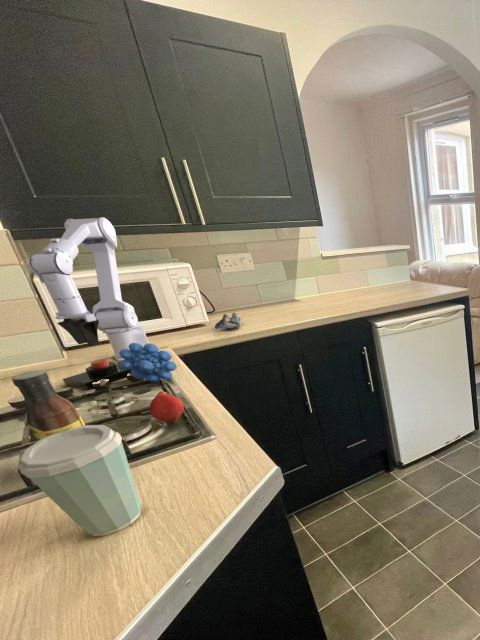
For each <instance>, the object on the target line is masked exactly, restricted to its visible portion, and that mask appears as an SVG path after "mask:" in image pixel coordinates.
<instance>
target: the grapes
mask: <svg viewBox="0 0 480 640" xmlns="http://www.w3.org/2000/svg"><path fill="white" fill-rule="evenodd" d="M129 349H130V350H129ZM129 349H122V350H120V352H119V354H120V356H121V357H122V358H123V359H124V360H121V361H119V362H120V365H121V367H122V368H124V369H126V370H131V372H130V373H131V375H132V376H131V377H132V378H134V379H136V380H143V379H146V381H148V382H149V383H153V384H154V383H159V382H160V380H161V379H162V380H170V379H172V378H173V373H172V372H174V371H176V370H177V367H178V366H177V364H176V363H175V362H173V361H172V354H171V352H169V351H166V350H159V346H157V344H154V343H150V344H146V345H144V347H143V346H142V345H141V344H139V343H131V344H130V345H129Z"/></svg>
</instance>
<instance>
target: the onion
mask: <svg viewBox="0 0 480 640" xmlns="http://www.w3.org/2000/svg"><path fill="white" fill-rule="evenodd" d="M149 404H150V405H149V412H150V415H151V416H152V417H153V419H155V420H157V421H161V422H164V423H170V424H174V423H176V422H177V421H178V420H179V418H180V417H181V416H182V415H183V413H184V410H185V407H184V402H183V401H182V400H181V398H179V397H177V396H175V395H173V394H170V393H166V392H165V391H163V390H159V391H158V393H157V394H156V396H155V397H154V398H153V399H152V400H151V402H150V403H149Z"/></svg>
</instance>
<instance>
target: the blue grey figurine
mask: <svg viewBox="0 0 480 640" xmlns="http://www.w3.org/2000/svg"><path fill="white" fill-rule="evenodd" d="M241 324H243V322H242V317H241V316H240V314H238V313H236V312H233V313H231V316H230V315H228V314H227V313H224V314H223V315H222V319H219V321H218V322H216V323H215V325H214V328H215V330H218V329H224V330H225V329H226V331H233V330H238V329H240V325H241Z"/></svg>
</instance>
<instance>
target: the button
mask: <svg viewBox="0 0 480 640" xmlns="http://www.w3.org/2000/svg"><path fill="white" fill-rule="evenodd" d="M108 362H109V361H108V359H97V360H94V361H91V362H90V366H92V368H93V369H97V368H102V367H106V366H108V365H109V363H108Z"/></svg>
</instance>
